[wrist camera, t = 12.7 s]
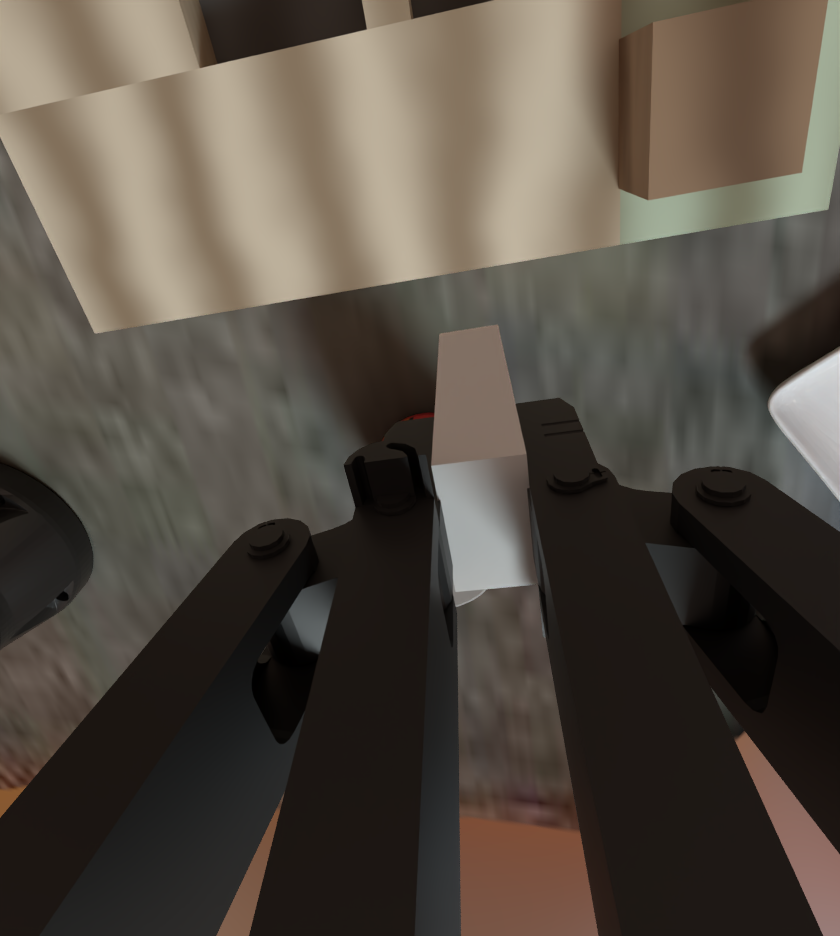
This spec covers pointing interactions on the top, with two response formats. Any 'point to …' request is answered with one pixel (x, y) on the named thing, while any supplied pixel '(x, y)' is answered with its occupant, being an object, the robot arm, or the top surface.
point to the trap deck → (341, 143)
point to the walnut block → (717, 96)
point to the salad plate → (813, 415)
